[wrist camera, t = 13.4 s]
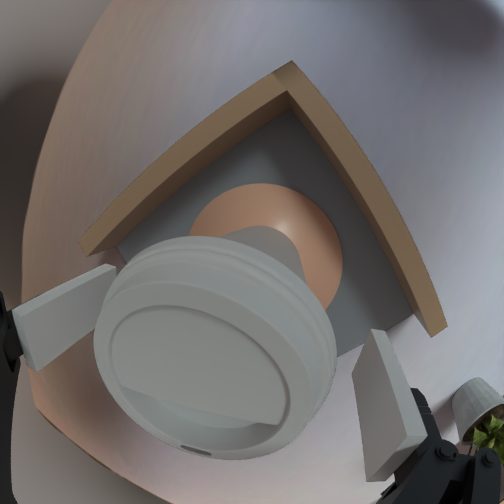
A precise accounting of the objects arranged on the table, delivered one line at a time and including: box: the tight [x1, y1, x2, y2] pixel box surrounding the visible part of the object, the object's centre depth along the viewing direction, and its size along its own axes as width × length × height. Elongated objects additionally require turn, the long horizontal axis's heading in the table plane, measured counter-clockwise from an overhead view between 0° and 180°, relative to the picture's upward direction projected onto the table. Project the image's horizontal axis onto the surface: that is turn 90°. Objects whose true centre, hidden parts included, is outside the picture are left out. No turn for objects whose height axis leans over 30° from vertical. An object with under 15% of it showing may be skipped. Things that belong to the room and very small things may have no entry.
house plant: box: [452, 378, 504, 466], centre depth 14 cm, size 14×14×16 cm
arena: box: [78, 61, 448, 357], centre depth 21 cm, size 22×22×5 cm
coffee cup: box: [93, 226, 337, 460], centre depth 15 cm, size 10×10×15 cm
